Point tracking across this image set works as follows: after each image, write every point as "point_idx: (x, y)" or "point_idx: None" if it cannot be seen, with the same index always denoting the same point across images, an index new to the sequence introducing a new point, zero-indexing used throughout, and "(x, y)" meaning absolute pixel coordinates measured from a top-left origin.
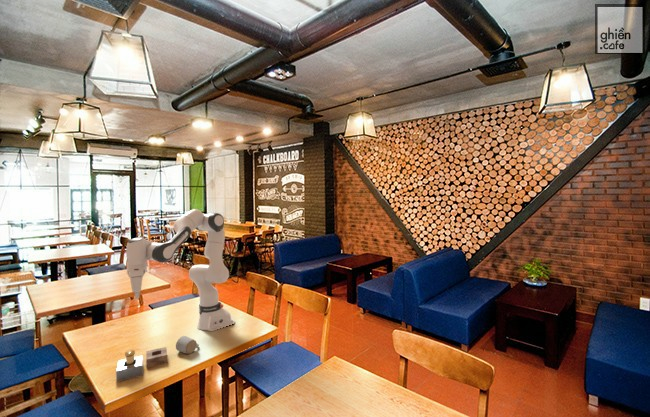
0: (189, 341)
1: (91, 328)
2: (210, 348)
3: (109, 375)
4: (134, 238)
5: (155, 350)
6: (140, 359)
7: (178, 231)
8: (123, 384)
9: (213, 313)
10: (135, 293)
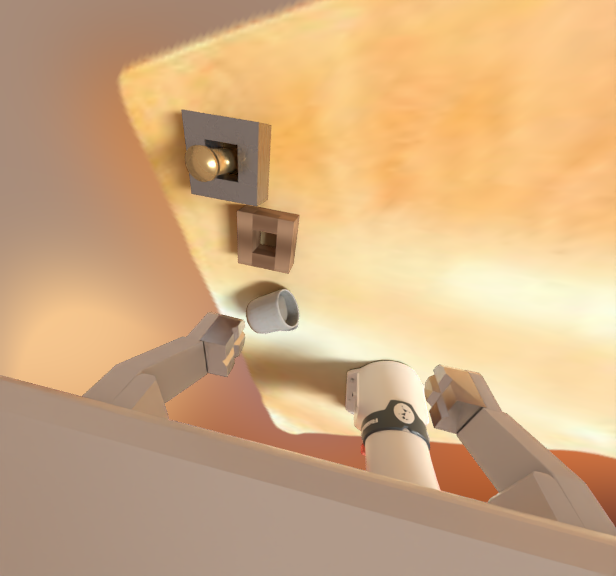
0: (249, 323)
1: None
2: (263, 339)
3: (255, 92)
4: None
5: (282, 244)
6: (229, 195)
7: None
8: None
9: (361, 418)
10: (139, 365)
